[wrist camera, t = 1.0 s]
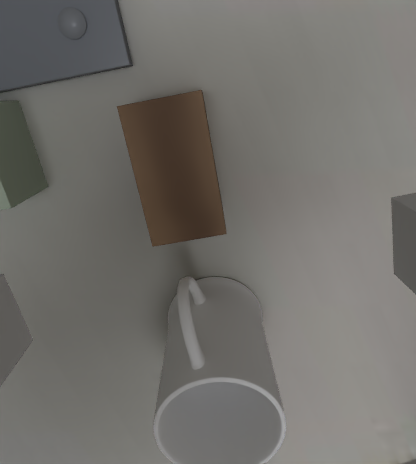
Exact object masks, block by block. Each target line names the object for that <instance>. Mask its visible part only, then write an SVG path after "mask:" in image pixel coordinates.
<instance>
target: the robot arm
mask: <svg viewBox="0 0 416 464" xmlns="http://www.w3.org/2000/svg"><path fill="white" fill-rule="evenodd" d="M391 206H392V234H393V262H394V274H395V275H396V276H397V277H398V278H399V279H400V280H401V281H402V282H403V283H404V284H405V285H406V286H407V287H409V288H410V289H411V290H412V291H413V292H414V293H415V294H416V193H412V194H407V195H402V196H397V197H392V198H391ZM32 341H33V338H32V336H31V334H30V332H29V329H28V327H27V325H26V323H25V321H24V318H23V316H22V314H21V312H20V309H19V307H18V305H17V303H16V301H15V298H14V296H13V294H12V292H11V290H10V287H9V285H8V283H7V281H6V278H5V276H4V274H2V275H0V386H1V385H2V383H3V382H4V381H5V379H6V378H7V376H8V375H9V373H10V372H11V371H12V369H13V368H14V366H15V365H16V364H17V362H18V361H19V359H20V358H21V356H22V355H23V354H24V352H25V351H26V349H27V348H28V346H29V345H30V344H31V342H32Z"/></svg>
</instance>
